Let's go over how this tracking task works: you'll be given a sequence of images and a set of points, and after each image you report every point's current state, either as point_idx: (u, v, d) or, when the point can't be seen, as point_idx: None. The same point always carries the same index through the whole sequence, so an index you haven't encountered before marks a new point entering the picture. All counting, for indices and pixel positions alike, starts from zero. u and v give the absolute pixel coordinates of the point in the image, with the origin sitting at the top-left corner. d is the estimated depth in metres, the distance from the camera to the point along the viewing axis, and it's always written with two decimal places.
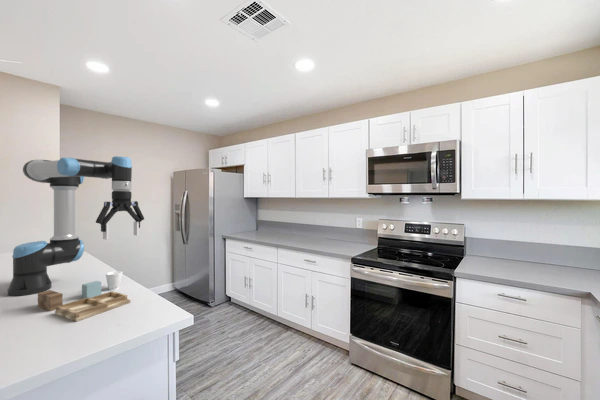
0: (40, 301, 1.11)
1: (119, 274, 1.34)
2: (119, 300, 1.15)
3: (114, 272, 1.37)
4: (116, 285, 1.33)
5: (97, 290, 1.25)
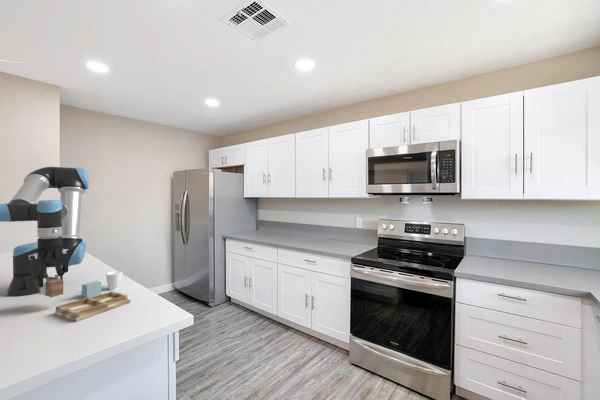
0: None
1: (119, 274, 1.34)
2: (119, 300, 1.15)
3: (114, 272, 1.37)
4: (116, 285, 1.33)
5: (97, 290, 1.25)
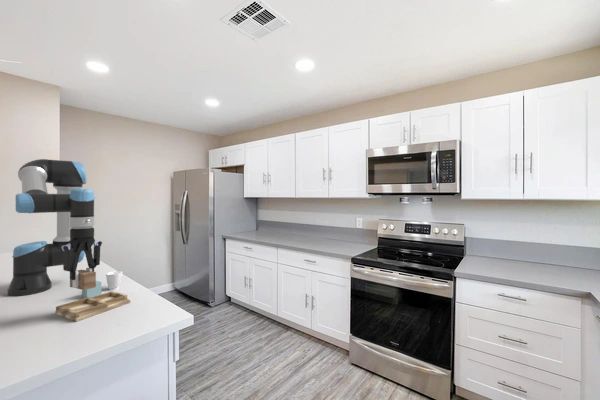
0: None
1: (119, 274, 1.34)
2: (119, 300, 1.15)
3: (114, 272, 1.37)
4: (116, 285, 1.33)
5: (97, 290, 1.25)
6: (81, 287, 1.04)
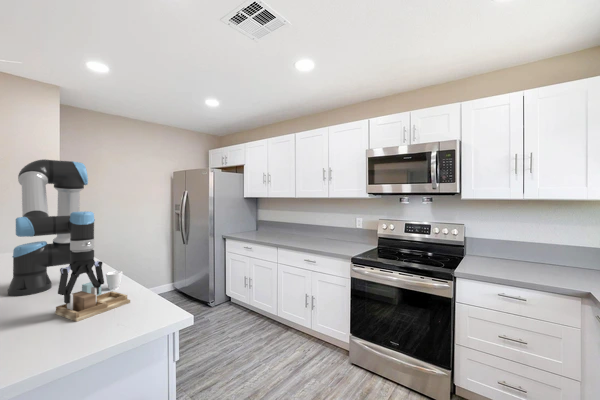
0: (73, 303, 1.06)
1: (119, 274, 1.34)
2: (119, 300, 1.15)
3: (114, 272, 1.37)
4: (116, 285, 1.33)
5: None
6: (81, 310, 1.04)
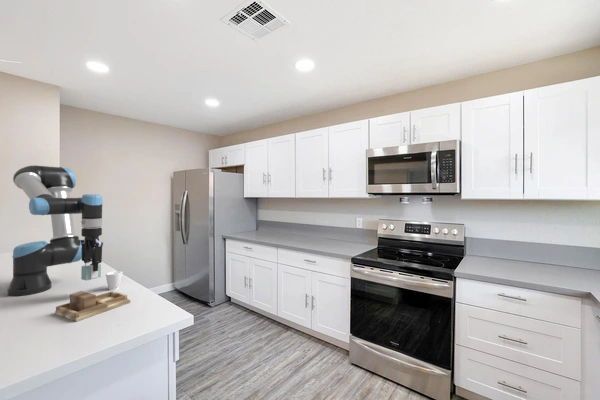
0: (73, 303, 1.06)
1: (119, 274, 1.34)
2: (119, 300, 1.15)
3: (114, 272, 1.37)
4: (116, 285, 1.33)
5: None
6: (81, 310, 1.04)
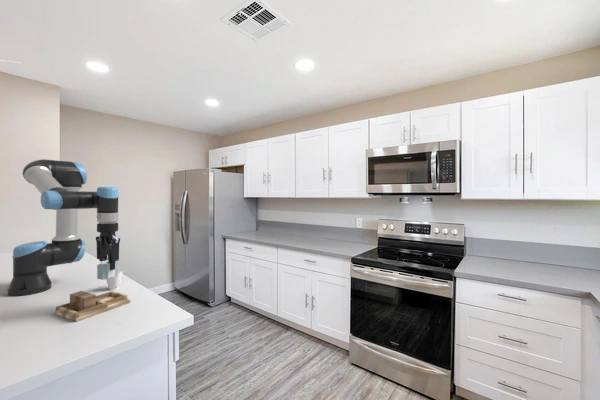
0: (73, 303, 1.06)
1: (119, 274, 1.34)
2: (119, 300, 1.15)
3: None
4: (116, 285, 1.33)
5: None
6: (81, 310, 1.04)
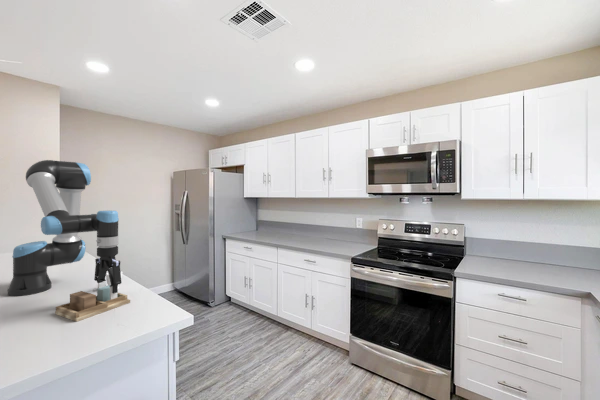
0: (73, 303, 1.06)
1: None
2: (119, 300, 1.15)
3: None
4: None
5: None
6: (81, 310, 1.04)
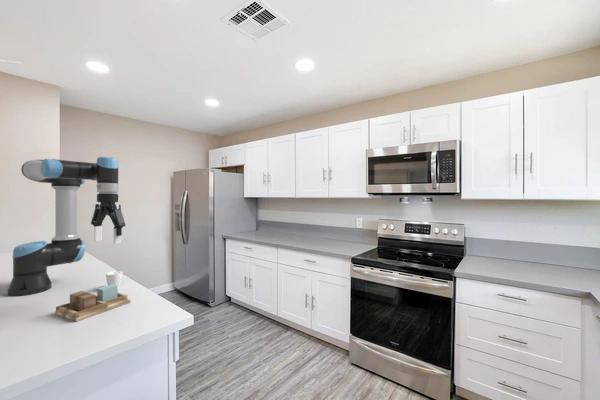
0: (73, 303, 1.06)
1: (119, 274, 1.34)
2: (119, 300, 1.15)
3: (114, 272, 1.37)
4: (116, 285, 1.33)
5: (113, 294, 1.16)
6: (81, 310, 1.04)
